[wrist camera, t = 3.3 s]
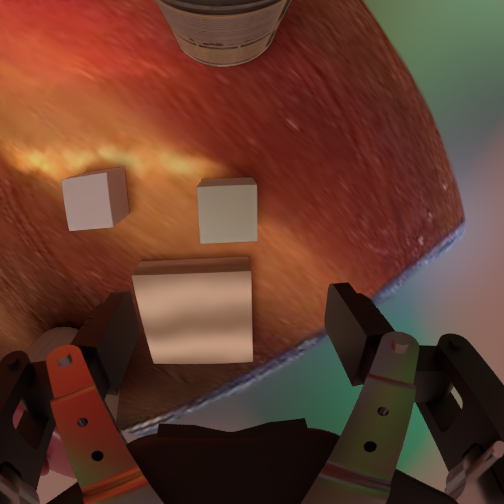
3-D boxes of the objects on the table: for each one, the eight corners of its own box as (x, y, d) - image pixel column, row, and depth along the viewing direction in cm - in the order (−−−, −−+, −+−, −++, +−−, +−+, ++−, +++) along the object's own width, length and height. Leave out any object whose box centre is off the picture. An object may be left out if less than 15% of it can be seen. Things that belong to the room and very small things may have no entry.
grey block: (84, 172, 26) (61, 179, 22) (125, 166, 27) (106, 172, 22) (89, 216, 28) (69, 230, 24) (129, 213, 28) (113, 227, 24)
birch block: (141, 259, 31) (131, 275, 27) (248, 255, 32) (251, 270, 28) (159, 343, 35) (153, 363, 32) (250, 340, 36) (252, 361, 33)
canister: (22, 343, 34) (-35, 434, 14) (60, 280, 30) (-32, 397, 11) (103, 408, 40) (76, 507, 20) (162, 366, 36) (139, 504, 17)
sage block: (201, 179, 28) (196, 187, 23) (252, 177, 28) (256, 184, 24) (204, 227, 30) (200, 243, 25) (252, 224, 30) (257, 241, 26)
